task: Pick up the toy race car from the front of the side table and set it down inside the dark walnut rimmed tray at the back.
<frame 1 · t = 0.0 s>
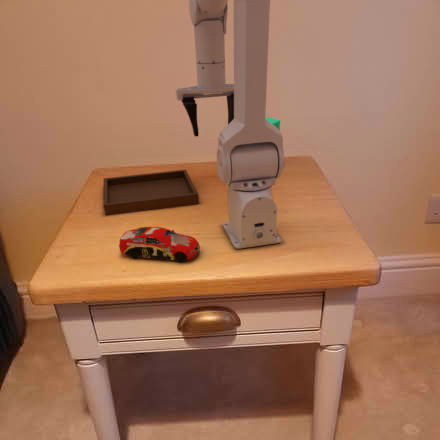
hand: (213, 133, 91), 10 cm above the table, tool pointing down, fingers open, 7 cm apart
candle: (265, 165, 104), on the table
tray: (149, 195, 90), on the table
race car: (160, 254, 69), on the table
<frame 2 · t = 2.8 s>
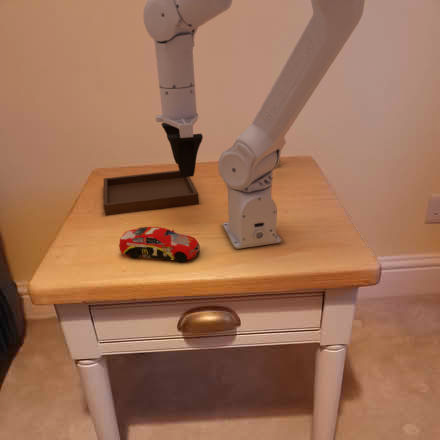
hand: (184, 169, 76), 9 cm above the table, tool pointing down, fingers open, 7 cm apart
nothing on the table moved.
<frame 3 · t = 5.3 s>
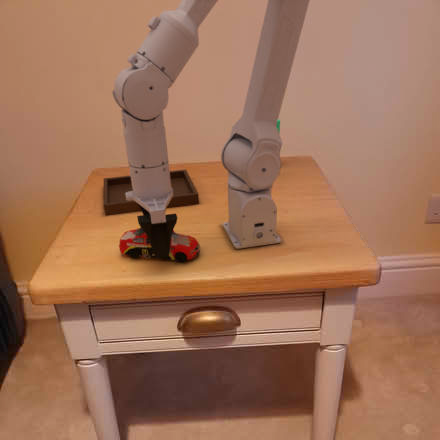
hand: (159, 245, 68), 1 cm above the table, tool pointing down, fingers closed on race car, 6 cm apart
race car: (160, 254, 69), on the table, touching gripper
everything else where it was.
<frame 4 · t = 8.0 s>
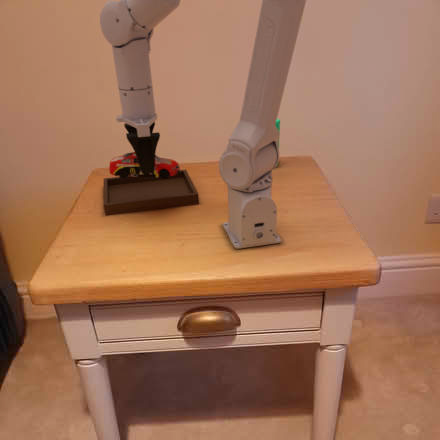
hand: (146, 167, 79), 8 cm above the table, tool pointing down, fingers closed on race car, 6 cm apart
race car: (145, 176, 80), point 7 cm above the table, touching gripper
everything else where it was.
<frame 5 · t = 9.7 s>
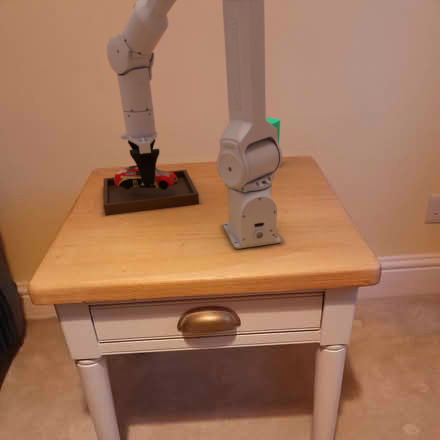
hand: (147, 178, 88), 4 cm above the table, tool pointing down, fingers closed on race car, 6 cm apart
race car: (146, 186, 89), point 2 cm above the table, touching gripper
everything else where it was.
when the fingers open (2 cm above the table, at t = 10.8 s): race car stays where it is, resting on tray.
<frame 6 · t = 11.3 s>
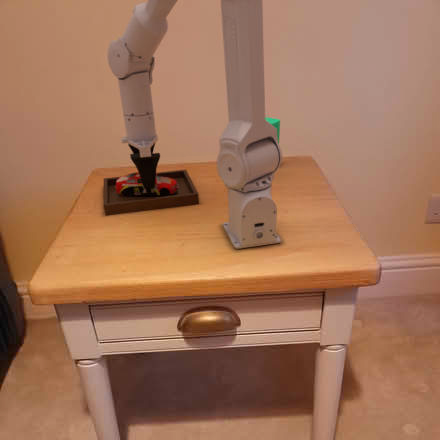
hand: (147, 181, 89), 3 cm above the table, tool pointing down, fingers open, 7 cm apart
race car: (148, 193, 90), resting on tray
everything else where it was.
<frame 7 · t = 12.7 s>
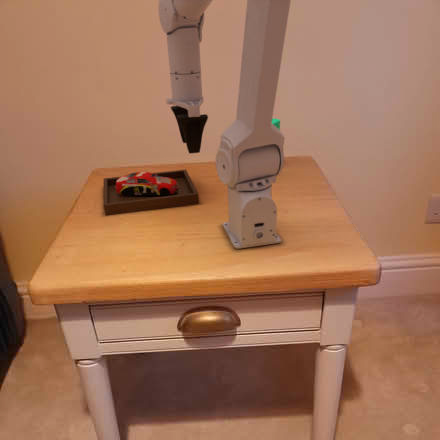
hand: (190, 147, 86), 9 cm above the table, tool pointing down, fingers open, 7 cm apart
nothing on the table moved.
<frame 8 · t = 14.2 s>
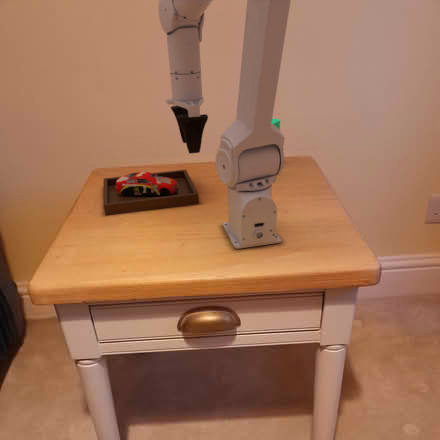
hand: (191, 147, 86), 9 cm above the table, tool pointing down, fingers open, 7 cm apart
nothing on the table moved.
at the end: race car inside the target area in the tray (0.3 cm from its centre), point 0.4 cm above the tray's base; the gripper is holding nothing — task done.
